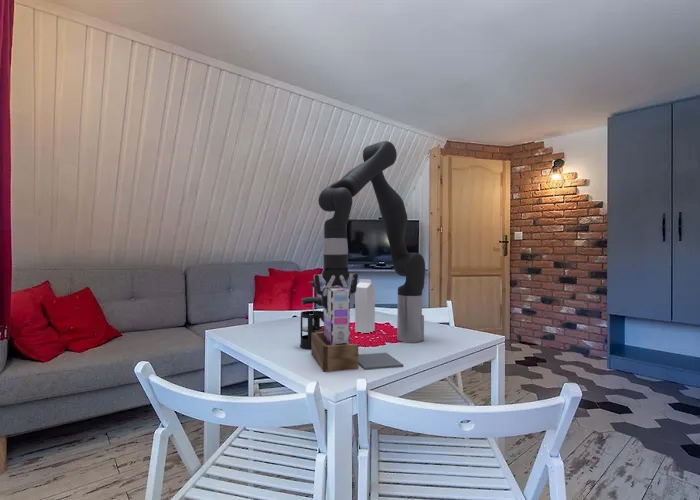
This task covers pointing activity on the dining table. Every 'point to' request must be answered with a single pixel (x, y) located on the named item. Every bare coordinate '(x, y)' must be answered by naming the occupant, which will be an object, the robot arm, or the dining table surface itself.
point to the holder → (333, 354)
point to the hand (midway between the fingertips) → (335, 307)
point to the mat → (377, 361)
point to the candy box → (337, 316)
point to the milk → (365, 306)
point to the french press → (311, 320)
